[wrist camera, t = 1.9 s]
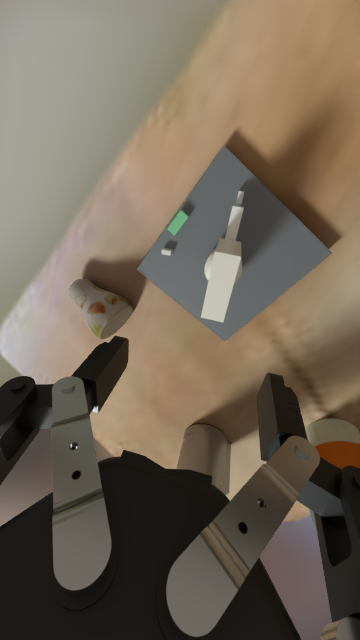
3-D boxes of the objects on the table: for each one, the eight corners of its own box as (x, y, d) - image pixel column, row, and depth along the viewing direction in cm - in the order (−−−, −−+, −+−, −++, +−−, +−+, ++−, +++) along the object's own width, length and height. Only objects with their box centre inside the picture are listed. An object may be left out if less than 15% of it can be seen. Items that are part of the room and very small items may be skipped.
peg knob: (234, 291, 33) (232, 324, 25) (202, 284, 33) (191, 315, 26) (257, 208, 27) (264, 219, 20) (219, 201, 28) (211, 209, 20)
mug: (82, 260, 38) (82, 290, 30) (134, 289, 43) (145, 320, 35) (59, 297, 40) (53, 333, 32) (112, 320, 45) (117, 355, 38)
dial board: (328, 249, 29) (335, 255, 27) (225, 336, 39) (224, 345, 36) (225, 147, 27) (223, 144, 24) (140, 266, 36) (133, 271, 34)
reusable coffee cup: (301, 458, 49) (322, 555, 36) (286, 415, 44) (305, 510, 31) (375, 454, 44) (429, 564, 32) (367, 406, 39) (428, 514, 27)
